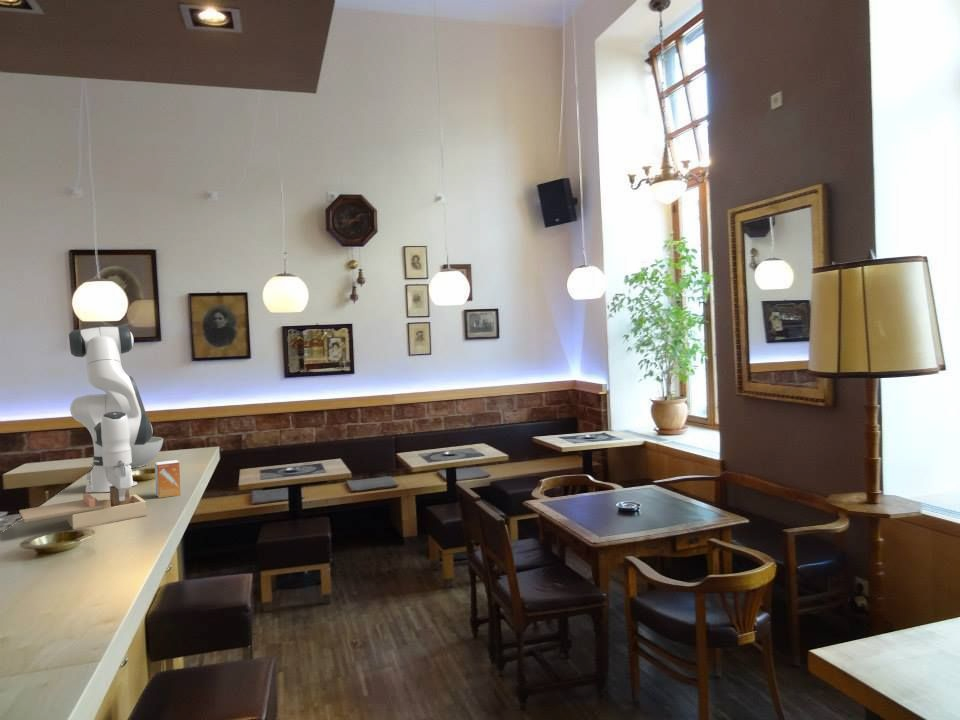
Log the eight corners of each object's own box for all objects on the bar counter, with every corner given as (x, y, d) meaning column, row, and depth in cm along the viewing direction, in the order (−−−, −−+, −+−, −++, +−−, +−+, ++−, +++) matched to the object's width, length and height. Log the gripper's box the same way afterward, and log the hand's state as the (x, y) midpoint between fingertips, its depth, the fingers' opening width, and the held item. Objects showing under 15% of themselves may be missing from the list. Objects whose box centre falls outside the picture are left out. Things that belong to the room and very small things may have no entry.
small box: (158, 498, 258) (156, 464, 257) (156, 495, 263) (154, 462, 262) (181, 495, 262) (179, 461, 261) (178, 492, 267) (176, 459, 267)
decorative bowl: (106, 464, 331) (105, 439, 330) (166, 458, 340) (165, 434, 340) (97, 474, 306) (95, 448, 305) (162, 468, 315) (160, 443, 315)
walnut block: (110, 506, 235) (109, 486, 235) (126, 503, 238) (125, 483, 238) (113, 509, 231) (112, 488, 231) (129, 506, 234) (128, 486, 234)
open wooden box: (65, 520, 231) (65, 505, 231) (136, 507, 245) (135, 494, 244) (73, 529, 219) (72, 514, 219) (146, 515, 233) (146, 501, 233)
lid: (19, 512, 222) (18, 502, 222) (95, 500, 236) (94, 490, 236) (24, 521, 211) (23, 511, 211) (103, 508, 225) (103, 498, 225)
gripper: (134, 461, 228) (136, 502, 228) (121, 454, 243) (123, 492, 244) (113, 464, 224) (116, 506, 224) (101, 456, 239) (103, 495, 240)
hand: (119, 498), depth 234 cm, fingers closed on walnut block, 5 cm apart
